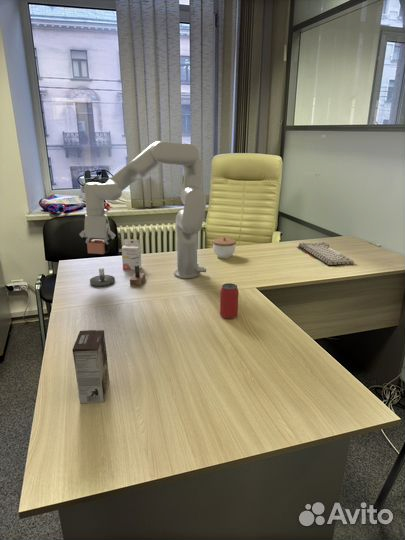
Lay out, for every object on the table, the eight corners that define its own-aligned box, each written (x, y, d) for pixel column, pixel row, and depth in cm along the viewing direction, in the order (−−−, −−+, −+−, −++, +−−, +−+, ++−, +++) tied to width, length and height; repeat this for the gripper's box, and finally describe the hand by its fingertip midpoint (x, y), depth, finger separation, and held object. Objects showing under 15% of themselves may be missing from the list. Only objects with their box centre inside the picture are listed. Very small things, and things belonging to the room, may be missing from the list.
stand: (145, 279, 174) (144, 262, 171) (140, 286, 165) (139, 269, 163) (135, 278, 174) (134, 262, 172) (130, 285, 166) (128, 269, 163)
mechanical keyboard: (359, 265, 194) (360, 259, 193) (326, 268, 190) (327, 262, 189) (322, 245, 229) (323, 240, 228) (294, 248, 225) (294, 242, 224)
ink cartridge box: (122, 269, 186) (120, 241, 180) (125, 266, 190) (123, 238, 185) (139, 270, 185) (137, 242, 180) (141, 267, 189) (140, 239, 184)
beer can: (239, 313, 141) (240, 284, 137) (235, 320, 135) (236, 290, 131) (222, 310, 143) (223, 281, 139) (217, 318, 137) (218, 288, 133)
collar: (109, 249, 167) (108, 239, 166) (103, 254, 161) (102, 244, 159) (94, 248, 168) (93, 239, 166) (87, 253, 161) (87, 243, 160)
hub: (118, 278, 174) (117, 265, 172) (110, 287, 164) (108, 273, 162) (95, 277, 175) (94, 264, 173) (86, 286, 165) (84, 272, 163)
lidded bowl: (223, 251, 214) (224, 233, 211) (240, 256, 206) (240, 237, 202) (208, 256, 206) (208, 237, 203) (224, 261, 198) (224, 241, 194)
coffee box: (86, 381, 102) (79, 329, 96) (110, 380, 102) (104, 328, 97) (78, 404, 93) (71, 349, 88) (104, 402, 94) (98, 347, 88)
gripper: (118, 211, 161) (120, 250, 167) (79, 209, 163) (83, 248, 169) (112, 214, 154) (114, 255, 160) (72, 212, 156) (76, 253, 162)
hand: (98, 251), depth 164 cm, fingers closed on collar, 7 cm apart
